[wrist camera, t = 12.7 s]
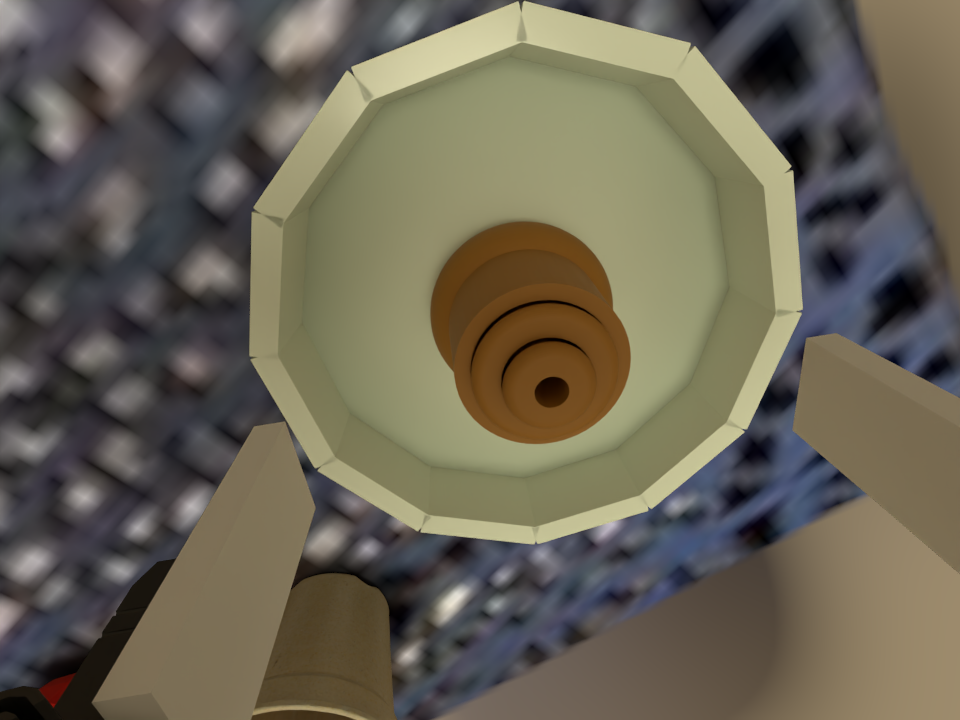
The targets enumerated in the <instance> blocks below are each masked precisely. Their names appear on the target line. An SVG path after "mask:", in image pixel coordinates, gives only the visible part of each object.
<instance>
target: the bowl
mask: <svg viewBox="0 0 960 720" xmlns="http://www.w3.org/2000/svg"><path fill="white" fill-rule="evenodd" d="M690 45H691V43H688V42H684V41H680V40H676V39H672V38H668V37H664V36H660V35H656V34H652V33H648V32H644V31H640V30H637V29H633V28H629V27H625V26H621V25H617V24H613V23H609V22H605V21H601V20H597V19H593V18H589V17H585V16H581V15H578V14H574V13H570V12H566V11H562V10H558V9H554V8H550V7H546V6H542V5H538V4H534V3H530V2H526V1H523V3H522V4H521V6H519V2H515V3H512V4H510V5H507V6H505V7H502V8H500V9H497V10H495V11H492V12H490V13H487V14H485V15H482V16H479V17H477V18H474V19H472V20H469V21H467V22H464V23H462V24H459V25H457V26H454V27H451V28H449V29H446V30H444V31H441V32H439V33H436V34H434V35H431V36H429V37H426V38H424V39H421V40H418V41H416V42H413V43H411V44H408V45H406V46H403V47H401V48H398V49H396V50H393V51H391V52H388V53H385V54H383V55H380V56H378V57H375V58H373V59H370V60H368V61H365V62H363V63H360V64H358V65H355V66H352V67H351V68H352V71H353V73H354V74H353V73H351V72H349V71H346V73H345V74H344V75H343V77H342V78H341V80H340V81H339V83H338V84H337V86H336V87H335V89H334V90H333V92H332V93H331V94H330V96H329V97H328V99H327V100H326V102H325V103H324V105H323V106H322V108H321V109H320V111H319V112H318V114H317V115H316V116H315V118H314V119H313V121H312V122H311V124H310V125H309V127H308V128H307V130H306V131H305V133H304V134H303V135H302V137H301V138H300V140H299V141H298V143H297V144H296V146H295V147H294V149H293V150H292V152H291V153H290V154H289V156H288V157H287V159H286V160H285V162H284V163H283V165H282V166H281V168H280V169H279V171H278V172H277V174H276V175H275V176H274V178H273V179H272V181H271V182H270V184H269V185H268V187H267V188H266V190H265V191H264V193H263V194H262V195H261V197H260V198H259V200H258V201H257V203H256V204H255V206H254V207H253V208H254V209H255V211H253V212H252V226H251V286H250V346H249V356H252V359H251V362H252V363H253V365H254V367H255V368H256V370H257V372H258V374H259V375H260V377H261V379H262V380H263V382H264V384H265V385H266V387H267V389H268V390H269V392H270V394H271V395H272V397H273V399H274V400H275V402H276V404H277V406H278V407H279V409H280V411H281V412H282V414H283V416H284V417H285V419H286V421H287V422H288V424H289V426H290V427H291V429H292V431H293V433H294V434H295V436H296V438H297V439H298V441H299V443H300V444H301V446H302V448H303V449H304V451H305V453H306V454H307V456H308V458H309V459H310V461H311V463H312V465H313V466H314V468H318V467H319V468H318V470H317V471H318V472H320V473H322V474H323V475H325V476H327V477H328V478H330V479H332V480H333V481H335V482H337V483H338V484H340V485H342V486H343V487H345V488H347V489H348V490H350V491H352V492H353V493H355V494H357V495H358V496H360V497H362V498H363V499H365V500H367V501H368V502H370V503H372V504H373V505H375V506H377V507H378V508H380V509H382V510H383V511H385V512H387V513H388V514H390V515H392V516H393V517H395V518H396V519H398V520H400V521H401V522H403V523H405V524H406V525H408V526H410V527H411V528H413V529H415V530H416V531H418V530H419V529H420V528H421V532H423V533H433V534H442V535H451V536H461V537H470V538H479V539H489V540H498V541H507V542H517V543H526V544H535V540H536V541H537V544H539V543H543V542H546V541H549V540H553V539H556V538H559V537H563V536H566V535H569V534H573V533H576V532H579V531H583V530H586V529H589V528H593V527H596V526H599V525H603V524H606V523H609V522H613V521H616V520H619V519H622V518H626V517H629V516H632V515H636V514H639V513H642V512H646V511H648V507H649V508H651V509H652V508H653V507H655V506H656V505H657V504H658V503H659V502H661V501H662V500H663V499H664V498H665V497H667V496H668V495H669V494H670V493H672V492H673V491H674V490H675V489H676V488H678V487H679V486H680V485H681V484H682V483H684V482H685V481H686V480H687V479H688V478H690V477H691V476H692V475H693V474H694V473H696V472H697V471H698V470H699V469H701V468H702V467H703V466H704V465H705V464H707V463H708V462H709V461H710V460H711V459H713V458H714V457H715V456H716V455H717V454H719V453H720V452H721V451H722V450H723V449H725V448H726V447H727V446H728V445H730V444H731V443H732V442H733V441H734V440H736V439H737V438H738V437H739V436H740V435H742V434H743V433H744V431H743V430H742V429H747V428H748V426H749V424H750V422H751V419H752V417H753V415H754V413H755V411H756V409H757V407H758V405H759V403H760V400H761V398H762V396H763V394H764V392H765V390H766V388H767V386H768V384H769V381H770V379H771V377H772V375H773V373H774V371H775V369H776V367H777V365H778V363H779V360H780V358H781V356H782V354H783V352H784V350H785V348H786V346H787V344H788V341H789V339H790V337H791V335H792V333H793V331H794V329H795V327H796V325H797V323H798V320H799V318H800V316H801V314H802V313H801V312H799V310H802V309H803V305H802V291H801V277H800V263H799V249H798V235H797V220H796V206H795V192H794V178H793V170H788V169H789V168H790V167H791V165H790V164H789V163H788V161H787V160H786V159H785V158H784V156H783V155H782V154H781V153H780V151H779V150H778V149H777V148H776V146H775V145H774V144H773V143H772V141H771V140H770V139H769V138H768V136H767V135H766V134H765V133H764V132H763V130H762V129H761V128H760V127H759V125H758V124H757V123H756V122H755V120H754V119H753V118H752V117H751V115H750V114H749V113H748V112H747V110H746V109H745V108H744V107H743V105H742V104H741V103H740V102H739V100H738V99H737V98H736V97H735V95H734V94H733V93H732V92H731V90H730V89H729V88H728V87H727V85H726V84H725V83H724V82H723V80H722V79H721V78H720V77H719V75H718V74H717V73H716V72H715V70H714V69H713V68H712V67H711V65H710V64H709V63H708V62H707V60H706V59H705V58H704V57H703V55H702V54H701V53H700V52H699V50H698V49H697V48H696V47H695V46H693V47H690ZM523 221H527V222H539V223H544V224H548V225H552V226H555V227H558V228H560V229H562V230H564V231H567V232H568V233H570V234H572V235H574V236H575V237H577V238H578V239H579V240H581V241H582V242H583V243H584V244H585V245H586V246H587V247H588V248H589V249H590V250H591V251H592V252H593V253H594V254H595V255H596V257H597V258H598V260H599V261H600V263H601V264H602V266H603V268H604V270H605V272H606V275H607V277H608V280H609V283H610V286H611V291H612V298H613V311H614V312H615V313H616V315H617V316H618V318H619V319H620V320H621V322H622V324H623V326H624V328H625V330H626V333H627V336H628V339H629V344H630V351H631V363H630V371H629V376H628V379H627V382H626V385H625V388H624V390H623V392H622V394H621V396H620V397H619V399H618V401H617V402H616V404H615V405H614V406H613V407H612V409H611V410H610V411H609V412H608V413H607V414H606V415H605V416H604V417H603V418H602V419H601V420H600V421H599V422H597V423H596V424H595V425H594V426H592V427H590V428H589V429H587V430H586V431H584V432H582V433H580V434H578V435H576V436H573V437H571V438H568V439H565V440H562V441H558V442H553V443H547V444H525V443H518V442H514V441H510V440H506V439H504V438H501V437H499V436H497V435H495V434H493V433H491V432H489V431H488V430H486V429H485V428H483V427H482V426H481V425H480V424H478V423H477V422H476V421H475V420H474V419H473V418H472V416H471V415H470V414H469V413H468V412H467V410H466V408H465V407H464V405H463V404H462V401H461V399H460V397H459V395H458V391H457V388H456V384H455V378H454V372H453V371H452V370H451V369H450V367H449V366H448V365H447V363H446V362H445V361H444V359H443V357H442V356H441V354H440V352H439V350H438V348H437V345H436V343H435V340H434V337H433V333H432V328H431V319H430V307H431V299H432V294H433V290H434V287H435V284H436V281H437V279H438V276H439V274H440V272H441V270H442V269H443V267H444V265H445V264H446V262H447V261H448V260H449V258H450V257H451V256H452V255H453V253H454V252H455V251H456V250H457V249H458V248H459V247H460V246H462V245H463V244H464V243H465V242H466V241H468V240H469V239H471V238H472V237H474V236H475V235H477V234H479V233H480V232H482V231H485V230H487V229H489V228H492V227H494V226H498V225H501V224H506V223H511V222H523ZM741 428H742V429H741ZM647 506H648V507H647Z"/></svg>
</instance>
